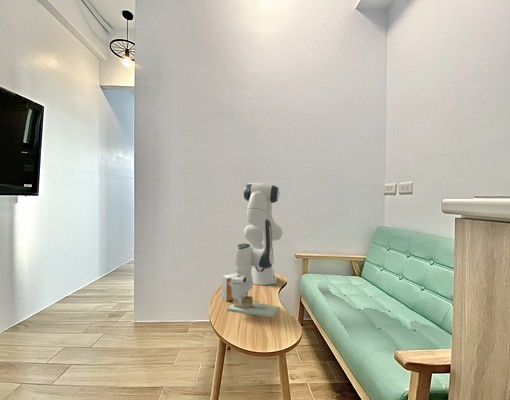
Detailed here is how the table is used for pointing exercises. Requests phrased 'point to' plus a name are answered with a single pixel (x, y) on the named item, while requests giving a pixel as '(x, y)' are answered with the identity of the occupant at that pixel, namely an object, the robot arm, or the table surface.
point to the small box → (227, 287)
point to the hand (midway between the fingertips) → (242, 301)
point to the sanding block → (244, 301)
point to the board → (256, 309)
